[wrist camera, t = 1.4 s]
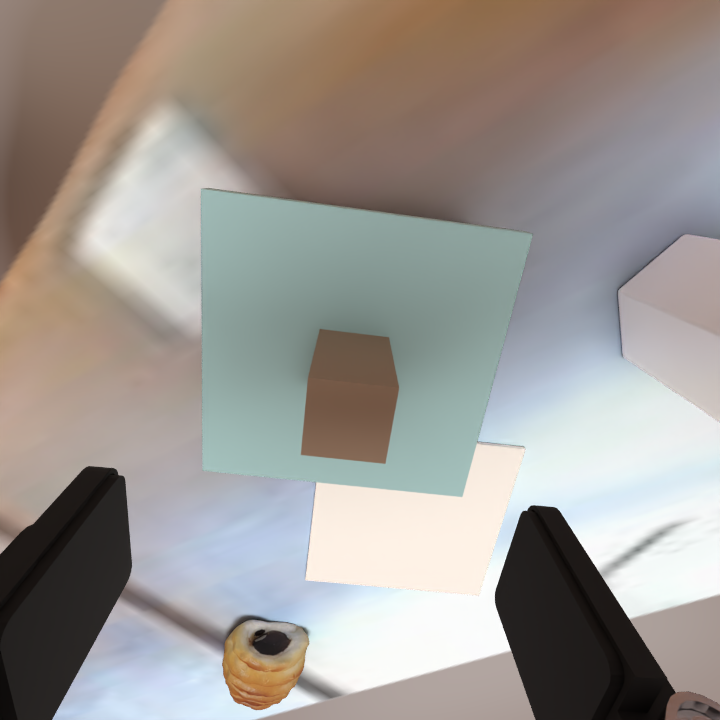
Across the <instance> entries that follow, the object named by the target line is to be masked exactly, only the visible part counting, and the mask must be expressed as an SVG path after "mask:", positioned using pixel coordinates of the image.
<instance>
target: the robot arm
mask: <svg viewBox="0 0 720 720" xmlns="http://www.w3.org/2000/svg"><path fill="white" fill-rule="evenodd" d="M131 568H132V559H131V547H130V534H129V522H128V509H127V497H126V484H125V478H124V476H120V475H118V472H117V470H116V469H114V468H104V467H93V466H88V467H86V468H85V469H83V470H82V471H81V472H80V474H79V475H78V476H77V477H76V478H75V479H74V480H73V481H72V482H71V483H70V485H69V486H68V487H67V488H66V489H65V490H64V491H63V492H62V493H61V494H60V496H59V497H58V498H57V499H56V500H55V501H54V502H53V503H52V504H51V505H50V506H49V508H48V509H47V510H46V511H45V512H44V513H43V514H42V515H41V516H40V517H39V519H38V520H37V521H36V522H35V523H34V524H33V525H30V526H28V527H26V528H25V529H24V530H23V531H22V532H21V533H20V534H19V535H18V536H17V537H16V538H15V539H14V540H13V541H12V542H11V543H10V545H9V546H8V547H7V548H6V549H5V550H4V551H3V552H2V553H1V554H0V720H52V719H53V717H54V715H55V713H56V711H57V710H58V708H59V706H60V704H61V702H62V700H63V699H64V697H65V695H66V693H67V691H68V689H69V688H70V686H71V684H72V682H73V680H74V678H75V677H76V675H77V673H78V671H79V669H80V668H81V666H82V664H83V662H84V660H85V658H86V657H87V655H88V653H89V651H90V649H91V647H92V646H93V644H94V642H95V640H96V638H97V636H98V635H99V633H100V631H101V629H102V627H103V625H104V624H105V622H106V620H107V618H108V616H109V614H110V613H111V611H112V609H113V607H114V605H115V604H116V602H117V600H118V598H119V596H120V594H121V593H122V591H123V589H124V587H125V585H126V583H127V581H128V579H129V576H130V573H131ZM495 604H496V608H497V611H498V614H499V617H500V620H501V622H502V625H503V628H504V631H505V634H506V637H507V640H508V642H509V645H510V648H511V651H512V653H513V657H514V659H515V662H516V665H517V668H518V671H519V674H520V677H521V679H522V682H523V685H524V688H525V691H526V694H527V697H528V699H529V702H530V705H531V708H532V711H533V713H534V717H535V719H536V720H720V705H719V704H718V703H717V702H715V701H713V700H711V699H708V698H707V697H705V696H703V695H700V694H696V693H692V692H677V693H676V692H675V691H674V689H673V688H672V686H671V685H670V683H669V682H668V680H667V677H666V676H665V674H664V673H663V671H662V670H661V668H660V666H659V665H658V663H657V662H656V660H655V659H654V657H653V656H652V654H651V652H650V651H649V649H648V648H647V647H646V645H645V643H644V642H643V640H642V638H641V637H640V635H639V634H638V632H637V631H636V629H635V628H634V626H633V624H632V623H631V621H630V620H629V618H628V617H627V615H626V614H625V612H624V610H623V609H622V607H621V606H620V604H619V603H618V601H617V600H616V598H615V596H614V595H613V593H612V592H611V590H610V589H609V587H608V586H607V584H606V582H605V581H604V579H603V578H602V576H601V575H600V573H599V572H598V570H597V568H596V567H595V565H594V564H593V562H592V561H591V559H590V558H589V556H588V555H587V553H586V551H585V550H584V548H583V547H582V545H581V544H580V542H579V541H578V539H577V537H576V536H575V534H574V533H573V531H572V530H571V528H570V527H569V525H568V523H567V522H566V520H565V519H564V517H563V516H562V514H561V513H560V511H559V510H558V509H557V508H555V507H546V506H535V505H533V506H530V507H529V508H528V510H527V511H523V512H522V513H521V515H520V518H519V521H518V524H517V527H516V530H515V533H514V536H513V539H512V542H511V545H510V548H509V551H508V554H507V557H506V560H505V564H504V567H503V570H502V573H501V576H500V579H499V582H498V585H497V588H496V591H495Z"/></svg>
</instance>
